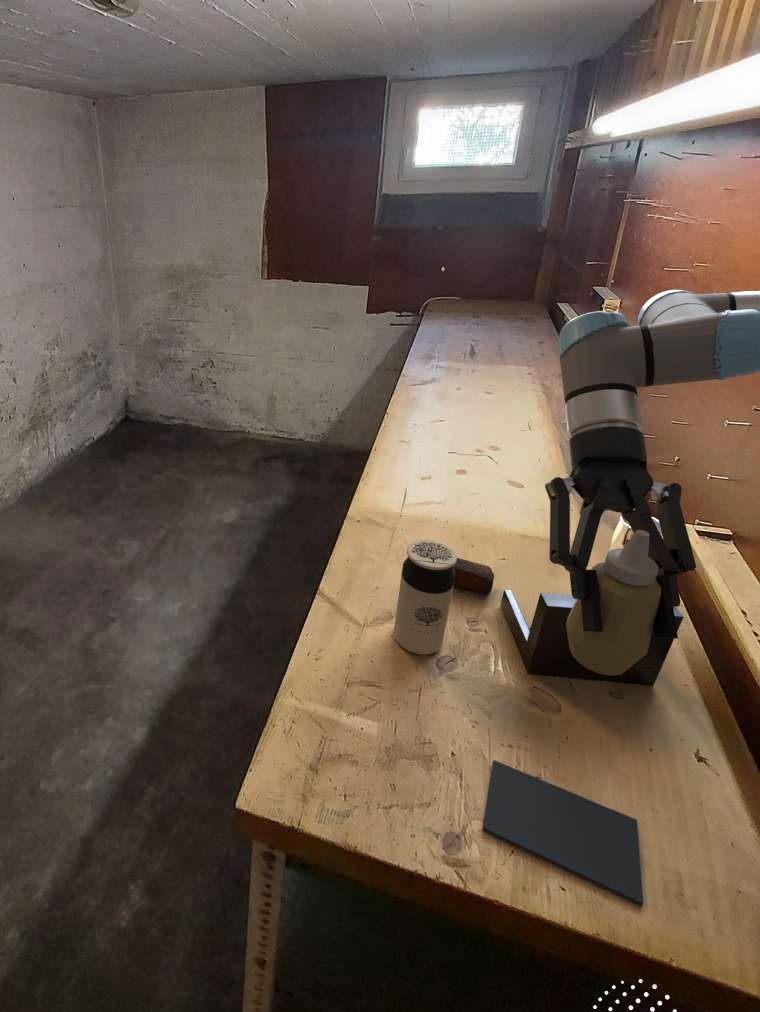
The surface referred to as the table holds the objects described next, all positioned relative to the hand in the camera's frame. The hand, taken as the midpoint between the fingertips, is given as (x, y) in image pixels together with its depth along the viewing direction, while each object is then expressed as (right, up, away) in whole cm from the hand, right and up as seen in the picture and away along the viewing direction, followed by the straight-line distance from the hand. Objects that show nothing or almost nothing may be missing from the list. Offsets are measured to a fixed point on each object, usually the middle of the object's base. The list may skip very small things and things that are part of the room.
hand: (629, 634), depth 61 cm
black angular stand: (+14, -13, +33) cm, 38 cm away
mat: (-3, -26, +8) cm, 27 cm away
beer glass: (+31, -7, +45) cm, 54 cm away
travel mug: (-10, -13, +35) cm, 39 cm away
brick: (+2, -6, +47) cm, 48 cm away
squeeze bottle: (+1, -5, +6) cm, 8 cm away
